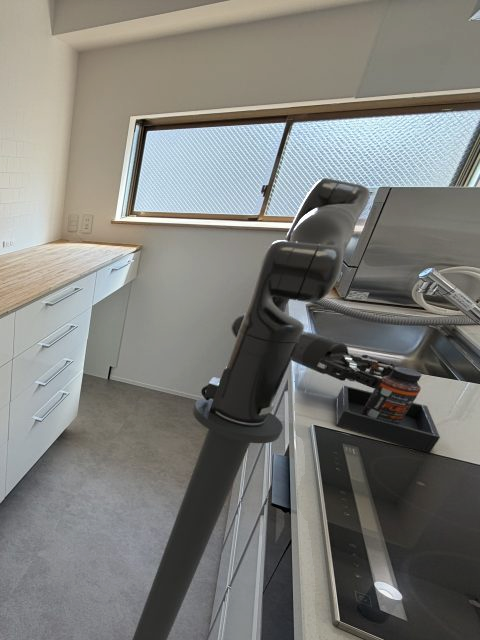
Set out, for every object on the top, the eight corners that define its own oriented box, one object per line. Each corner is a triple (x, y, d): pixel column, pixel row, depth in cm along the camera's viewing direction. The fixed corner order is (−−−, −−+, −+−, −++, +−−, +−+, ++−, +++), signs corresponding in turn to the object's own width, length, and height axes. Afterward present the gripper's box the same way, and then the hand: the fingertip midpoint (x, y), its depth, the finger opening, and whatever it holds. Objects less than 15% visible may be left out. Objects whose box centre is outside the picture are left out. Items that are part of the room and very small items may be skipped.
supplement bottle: (372, 426, 82) (401, 375, 77) (353, 411, 88) (379, 363, 83) (406, 430, 82) (437, 379, 77) (384, 415, 87) (412, 366, 82)
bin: (336, 425, 83) (343, 410, 81) (336, 398, 94) (343, 385, 92) (429, 453, 76) (440, 437, 74) (418, 420, 86) (427, 405, 85)
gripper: (297, 338, 92) (378, 367, 78) (343, 334, 96) (429, 362, 82) (284, 368, 95) (360, 402, 81) (329, 364, 99) (409, 395, 85)
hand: (394, 382), depth 82 cm, fingers open, 8 cm apart
